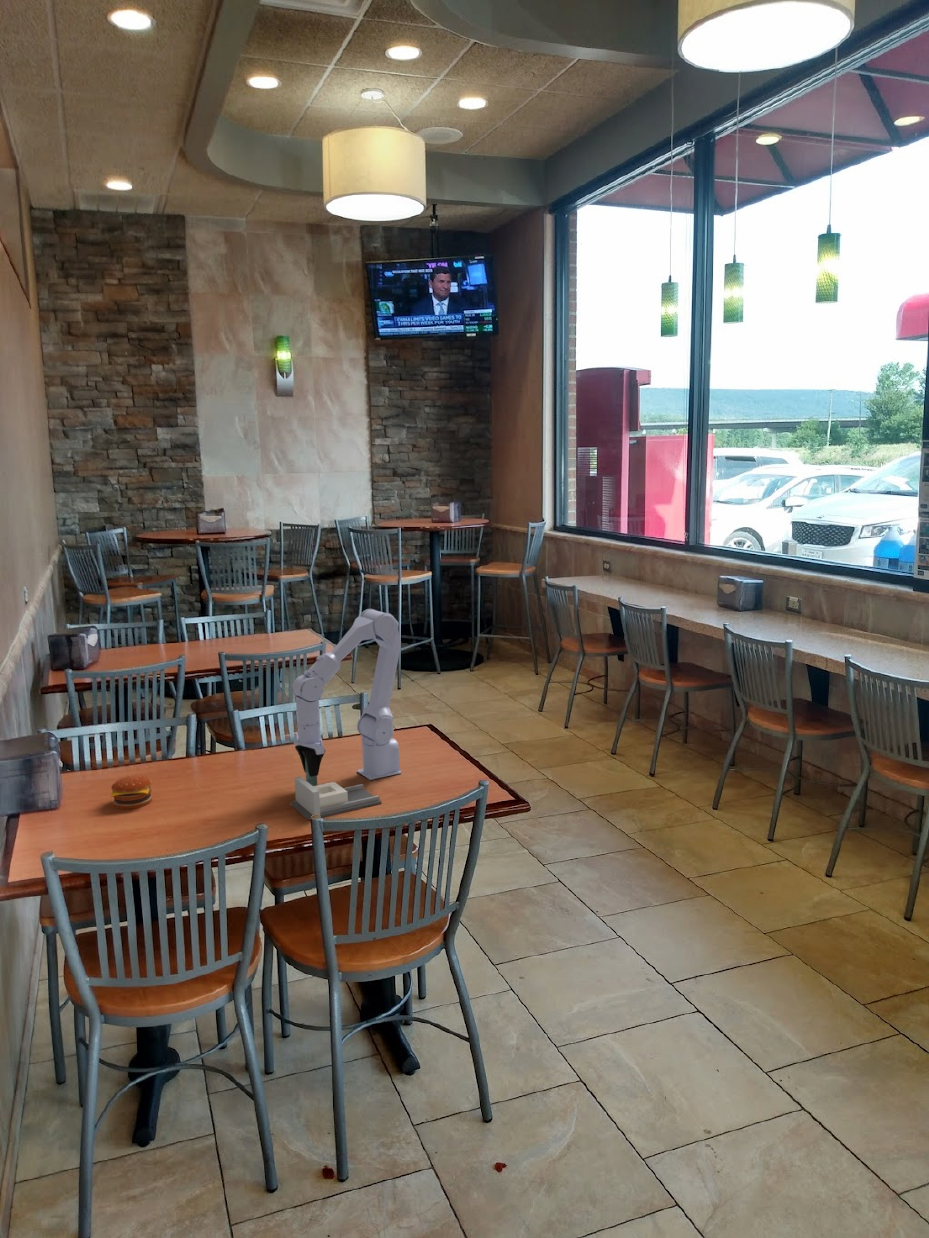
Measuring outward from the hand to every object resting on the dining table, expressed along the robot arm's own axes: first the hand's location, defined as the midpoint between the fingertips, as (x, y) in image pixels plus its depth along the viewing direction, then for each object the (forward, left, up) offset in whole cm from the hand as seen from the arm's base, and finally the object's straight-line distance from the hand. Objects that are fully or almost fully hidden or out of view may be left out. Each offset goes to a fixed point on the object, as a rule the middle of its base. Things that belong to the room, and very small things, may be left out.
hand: (311, 773), depth 235 cm
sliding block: (+2, +13, -3) cm, 14 cm away
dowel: (0, 0, -3) cm, 3 cm away
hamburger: (+41, -16, -4) cm, 44 cm away
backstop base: (-1, +13, -4) cm, 14 cm away
